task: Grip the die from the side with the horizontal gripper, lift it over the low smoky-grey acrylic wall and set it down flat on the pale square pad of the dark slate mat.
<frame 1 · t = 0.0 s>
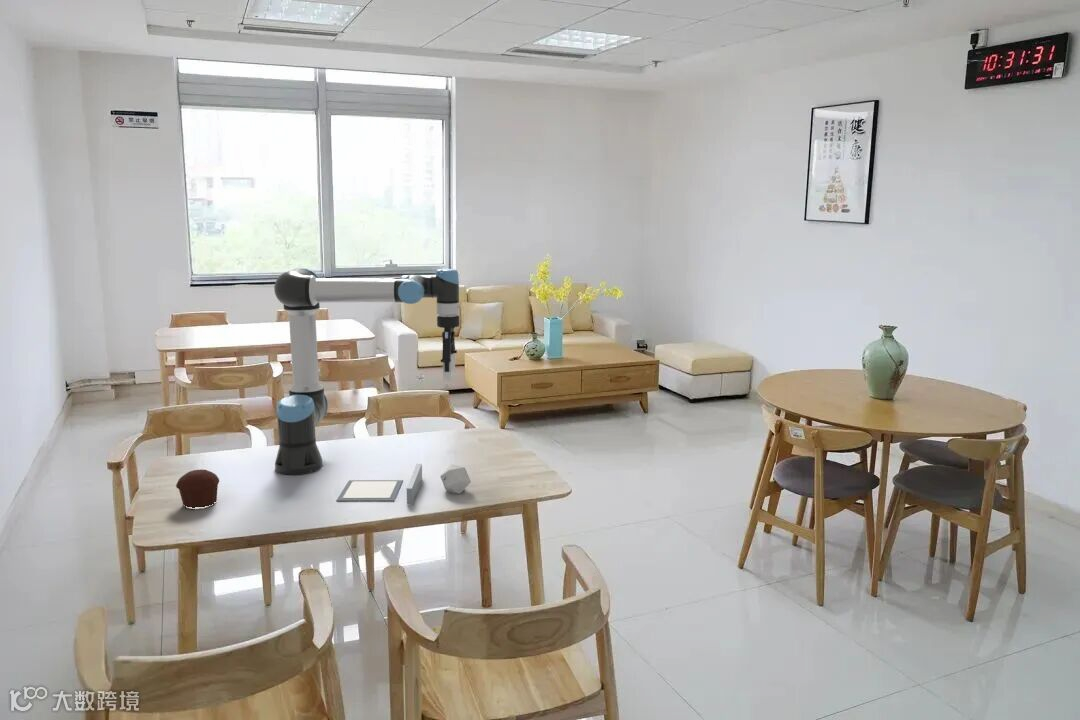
hand: (449, 376, 273), 28 cm above the table, tool pointing down, fingers open, 13 cm apart
muffin: (199, 504, 233), on the table
die: (455, 491, 244), on the table
low wall: (414, 491, 244), on the table
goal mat: (370, 491, 244), on the table
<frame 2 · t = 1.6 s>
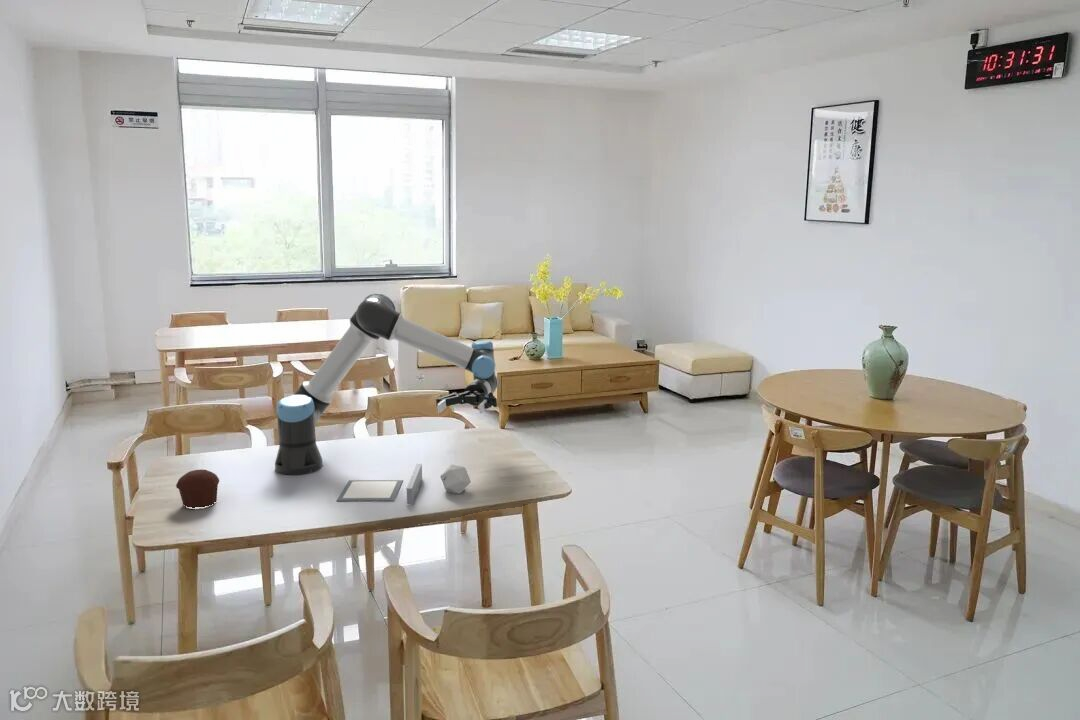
hand: (459, 409, 249), 23 cm above the table, tool horizontal, fingers open, 13 cm apart
nothing on the table moved.
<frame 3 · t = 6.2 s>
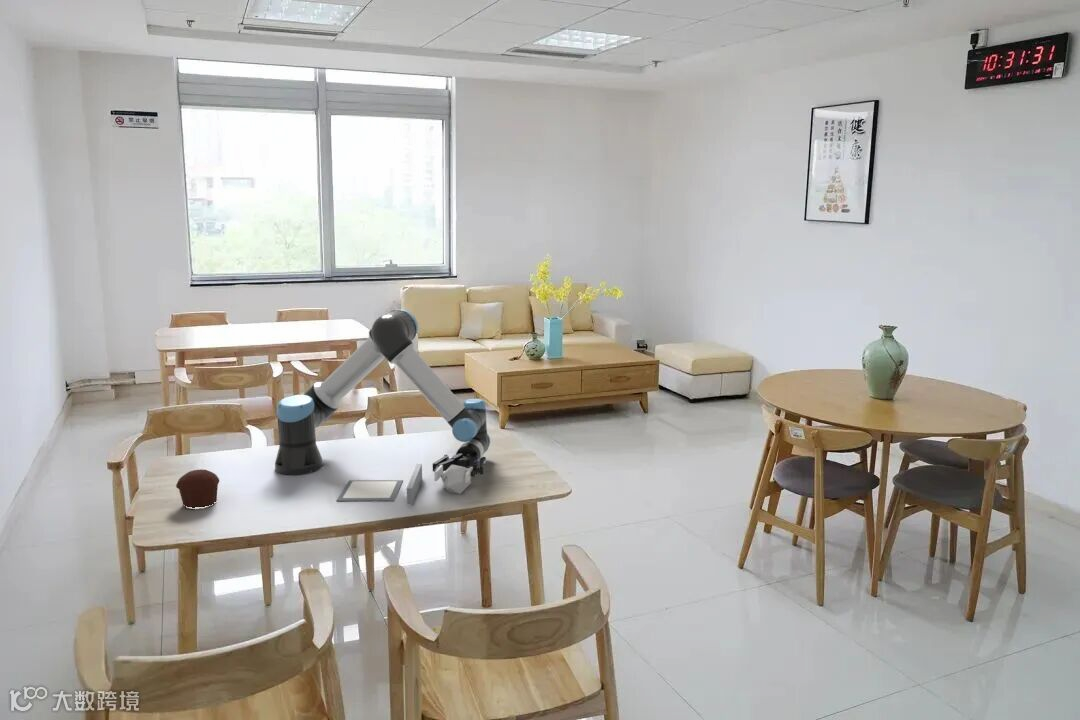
hand: (451, 477, 238), 6 cm above the table, tool horizontal, fingers open, 9 cm apart
die: (456, 491, 244), on the table, touching gripper
everything else where it was.
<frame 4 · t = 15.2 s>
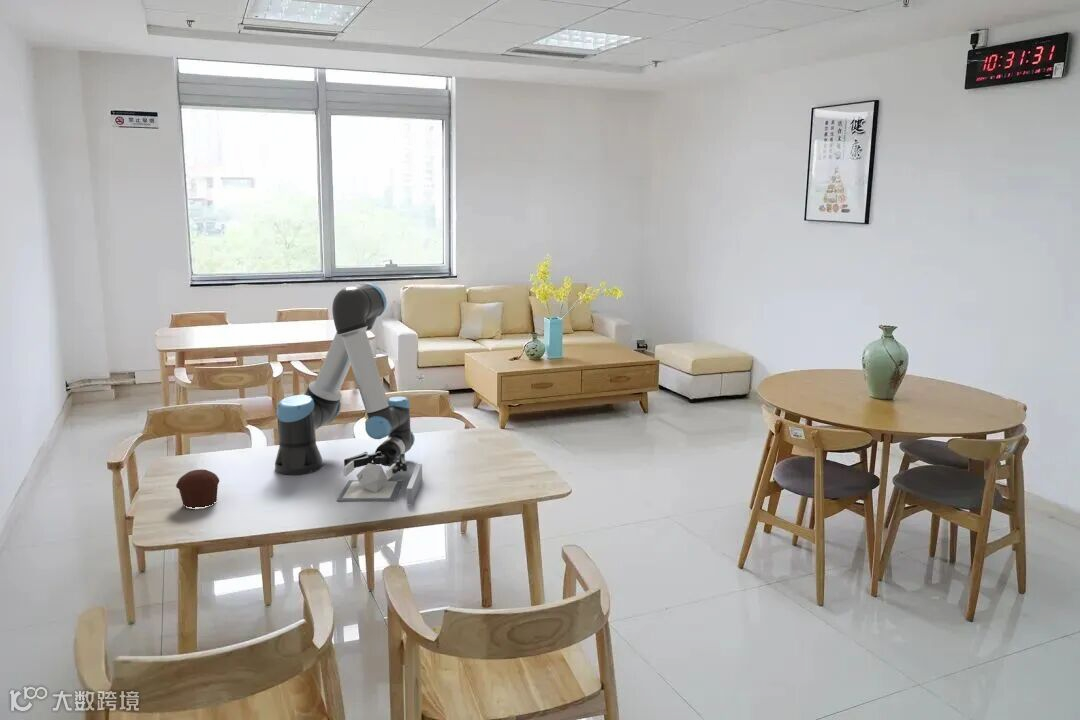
hand: (365, 473, 239), 7 cm above the table, tool horizontal, fingers open, 13 cm apart
die: (372, 490, 243), resting on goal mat
everything else where it was.
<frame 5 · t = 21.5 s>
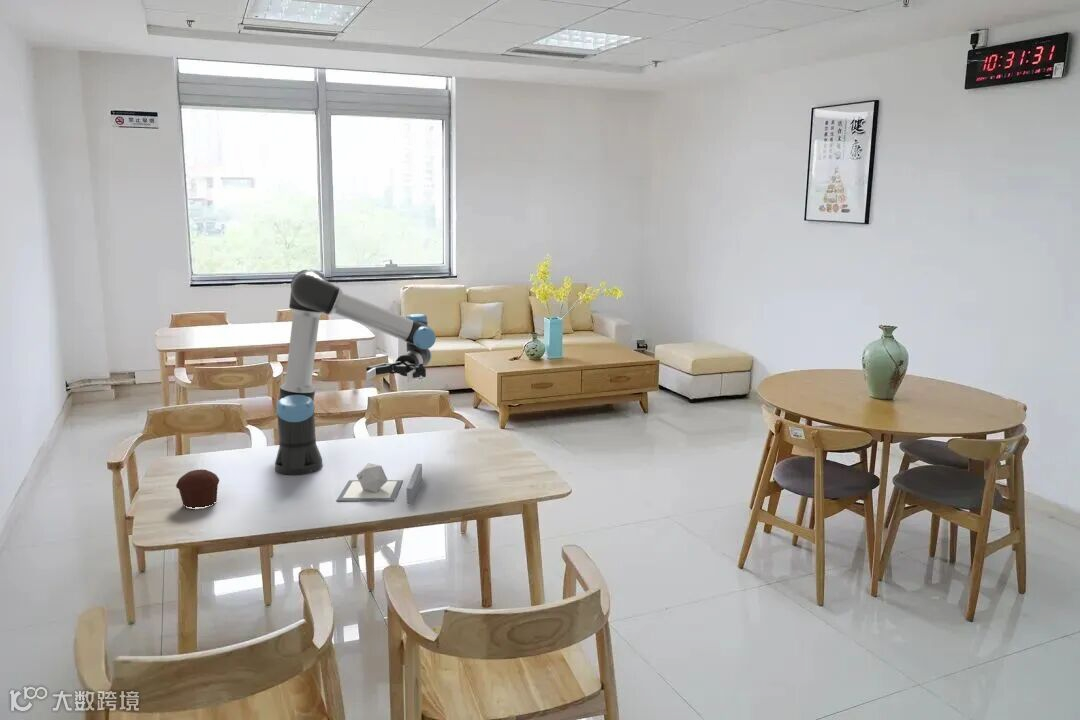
hand: (387, 377, 254), 32 cm above the table, tool horizontal, fingers open, 13 cm apart
nothing on the table moved.
at the end: die inside the target area on the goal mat (0.8 cm from its centre), point 0.4 cm above the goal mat's base; die tilted 1°; the gripper is holding nothing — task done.
